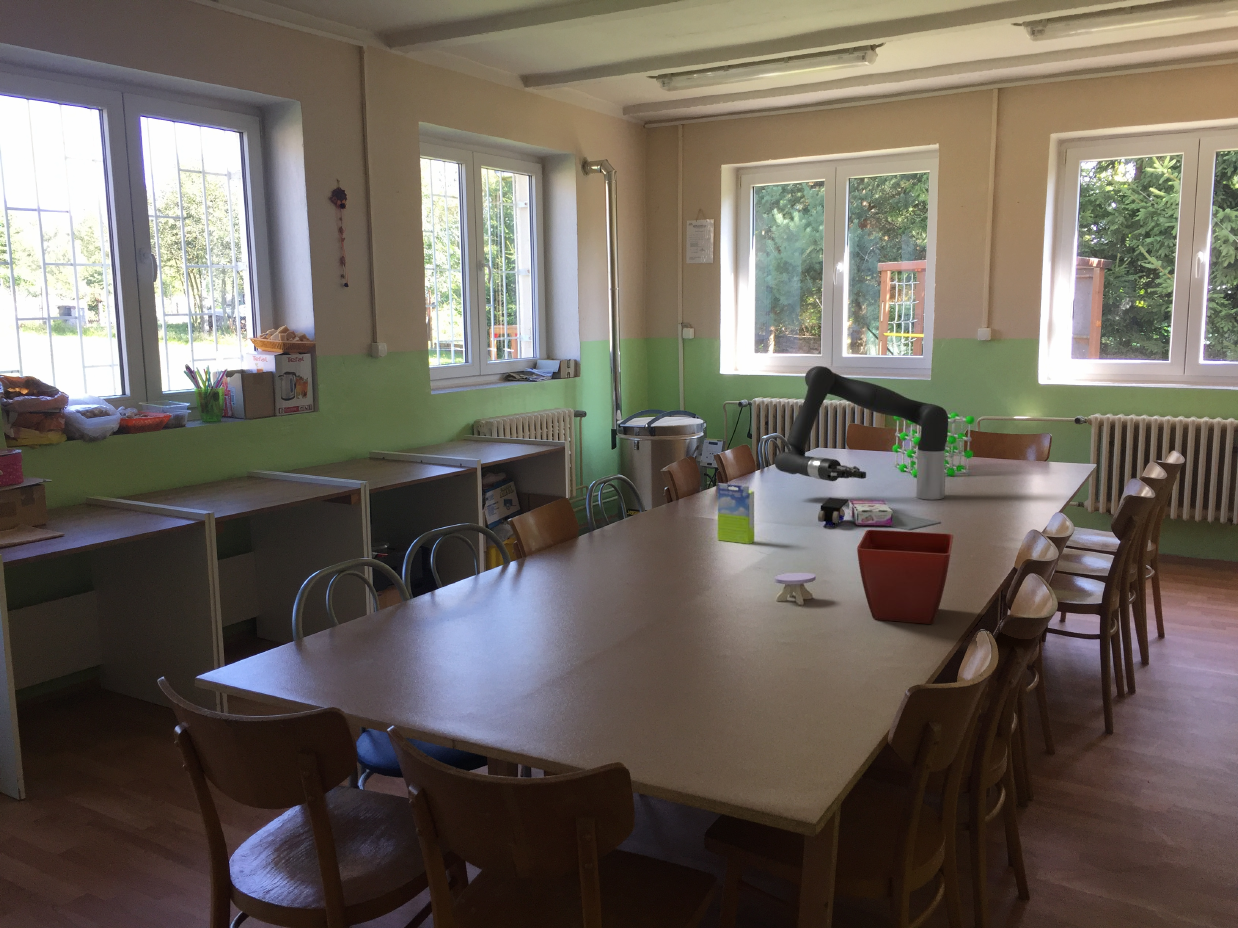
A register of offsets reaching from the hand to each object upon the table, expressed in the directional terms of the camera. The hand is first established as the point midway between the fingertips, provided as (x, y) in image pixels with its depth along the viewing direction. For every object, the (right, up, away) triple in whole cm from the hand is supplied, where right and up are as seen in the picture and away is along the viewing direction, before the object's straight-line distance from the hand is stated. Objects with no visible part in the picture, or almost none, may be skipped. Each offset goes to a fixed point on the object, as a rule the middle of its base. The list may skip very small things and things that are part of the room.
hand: (864, 475), depth 319 cm
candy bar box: (0, -10, -1) cm, 10 cm away
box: (-46, -19, -32) cm, 59 cm away
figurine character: (-13, -16, -12) cm, 23 cm away
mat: (+9, -15, -10) cm, 20 cm away
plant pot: (-17, -30, -102) cm, 108 cm away
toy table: (-39, -28, -90) cm, 102 cm away
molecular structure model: (+48, 0, +81) cm, 95 cm away
